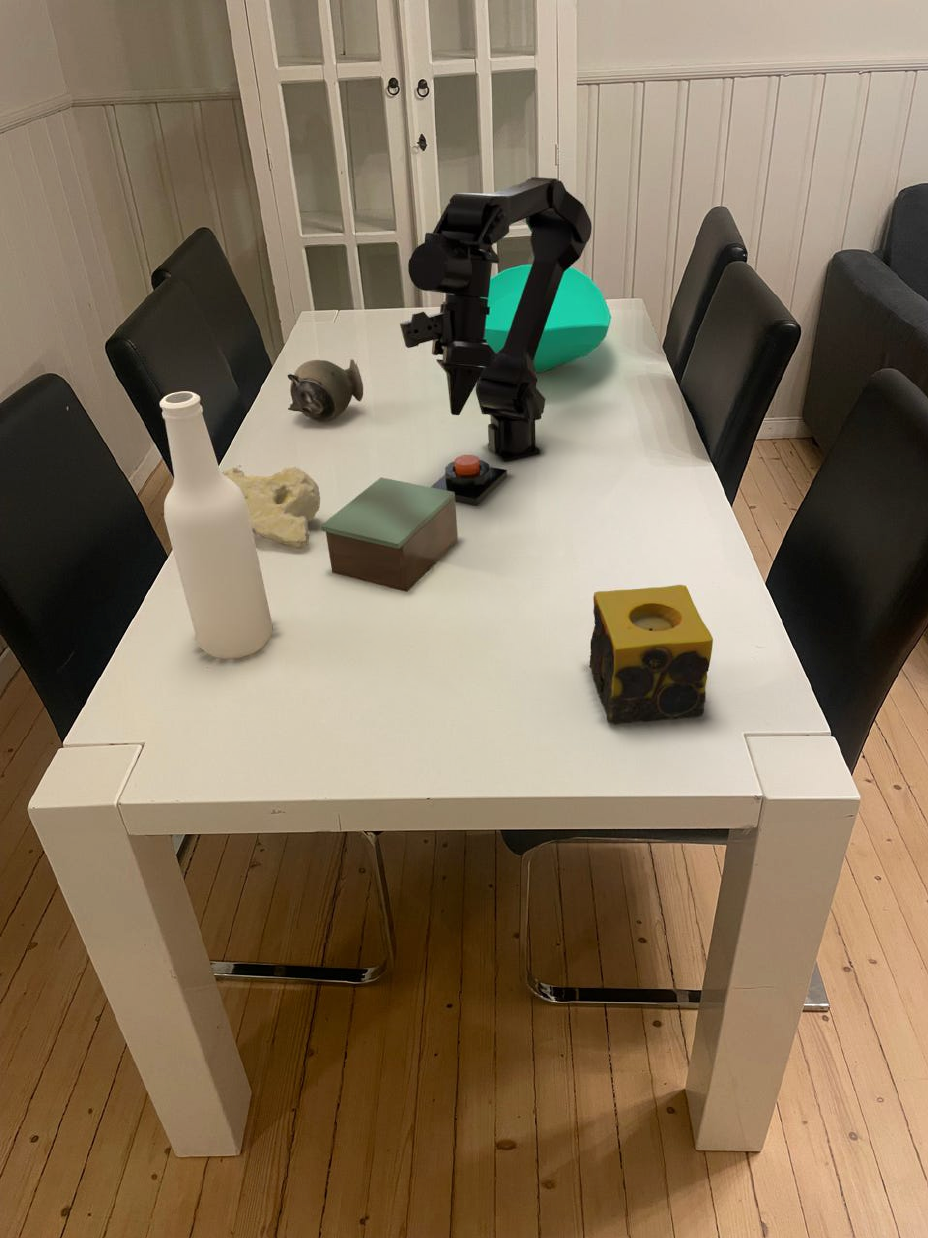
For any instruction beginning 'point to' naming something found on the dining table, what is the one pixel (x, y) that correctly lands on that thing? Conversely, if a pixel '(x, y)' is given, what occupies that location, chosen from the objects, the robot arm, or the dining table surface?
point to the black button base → (471, 483)
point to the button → (467, 465)
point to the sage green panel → (388, 512)
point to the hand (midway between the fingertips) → (455, 414)
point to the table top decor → (550, 316)
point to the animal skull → (279, 503)
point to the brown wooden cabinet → (395, 553)
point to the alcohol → (212, 539)
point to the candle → (649, 654)
